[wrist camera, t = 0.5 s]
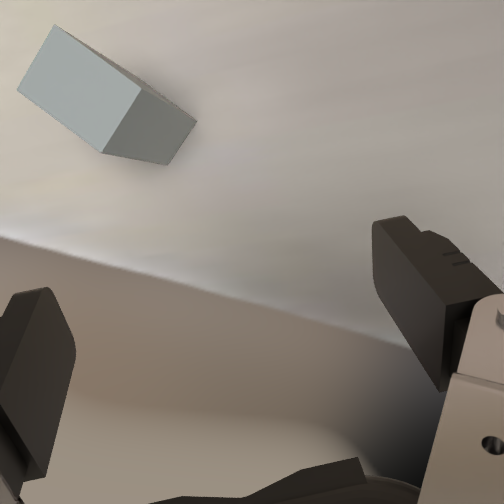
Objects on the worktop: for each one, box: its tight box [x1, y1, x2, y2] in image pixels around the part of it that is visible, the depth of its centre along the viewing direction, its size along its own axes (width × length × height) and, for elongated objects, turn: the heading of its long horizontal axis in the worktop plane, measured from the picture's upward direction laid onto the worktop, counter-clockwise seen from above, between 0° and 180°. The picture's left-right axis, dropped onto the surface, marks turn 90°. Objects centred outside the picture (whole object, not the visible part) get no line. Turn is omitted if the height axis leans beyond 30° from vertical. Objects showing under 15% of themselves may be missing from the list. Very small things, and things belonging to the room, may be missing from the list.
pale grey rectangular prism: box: [17, 24, 197, 165], centre depth 27 cm, size 4×5×10 cm
